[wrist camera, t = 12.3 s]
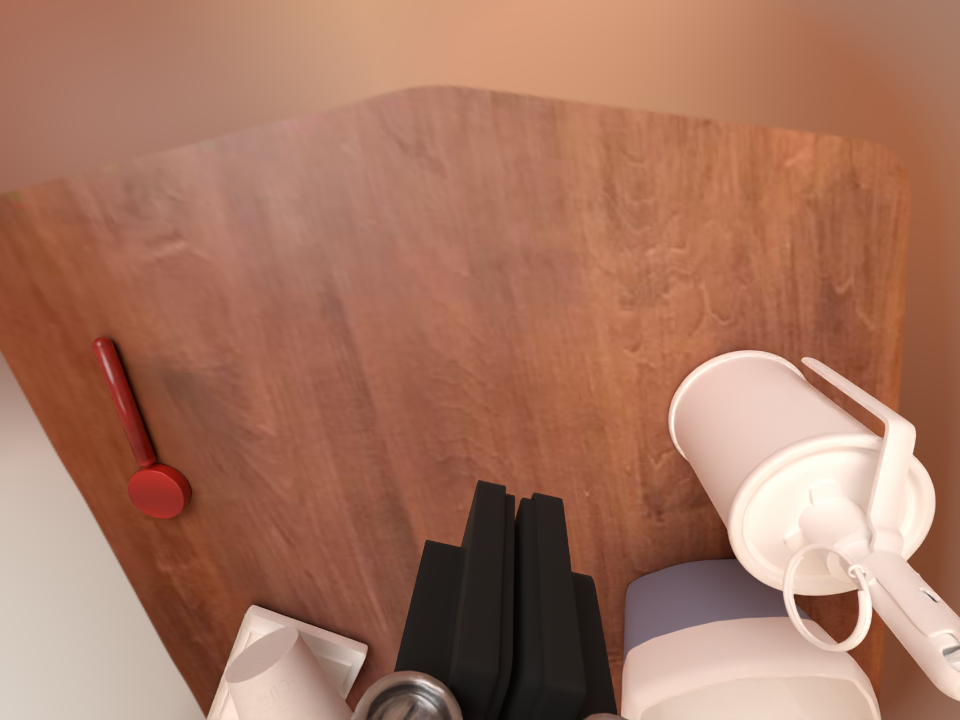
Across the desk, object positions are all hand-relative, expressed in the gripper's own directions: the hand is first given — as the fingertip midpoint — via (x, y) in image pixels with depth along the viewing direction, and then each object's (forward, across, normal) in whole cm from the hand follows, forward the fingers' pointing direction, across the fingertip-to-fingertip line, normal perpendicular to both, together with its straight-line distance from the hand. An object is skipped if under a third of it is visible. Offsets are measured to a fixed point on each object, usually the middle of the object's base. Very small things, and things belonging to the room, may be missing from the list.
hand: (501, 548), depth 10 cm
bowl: (+25, -21, +23) cm, 40 cm away
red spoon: (+25, +24, +18) cm, 39 cm away
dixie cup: (+20, +12, +32) cm, 39 cm away
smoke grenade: (+25, -17, +5) cm, 31 cm away
